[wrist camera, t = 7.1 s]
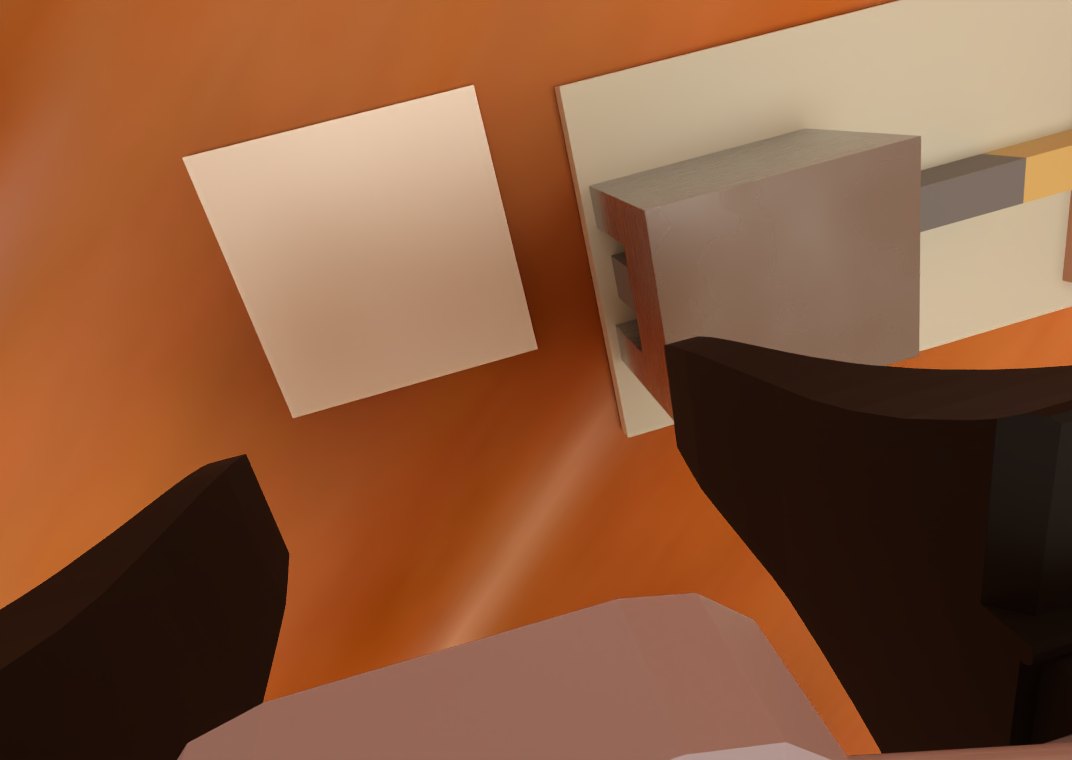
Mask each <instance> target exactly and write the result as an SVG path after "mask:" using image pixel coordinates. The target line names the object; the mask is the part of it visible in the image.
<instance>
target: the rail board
mask: <svg viewBox="0 0 1072 760" xmlns="http://www.w3.org/2000/svg"><path fill="white" fill-rule="evenodd" d="M554 88H555V93H556V98H557V104H558V109H559V114H560V119H561V124H562V129H563V134H564V139H565V144H566V149H567V154H568V159H569V164H570V169H571V174H572V179H573V184H574V189H575V194H576V199H577V204H578V209H579V214H580V219H581V224H582V229H583V235H584V240H585V245H586V250H587V255H588V260H589V265H590V270H591V275H592V280H593V285H594V290H595V295H596V300H597V305H598V310H599V315H600V320H601V325H602V330H603V335H604V340H605V345H606V350H607V355H608V360H609V366H610V371H611V376H612V381H613V386H614V391H615V396H616V401H617V406H618V411H619V416H620V421H621V426H622V430H623V431H624V433H625V434H626V436H627V437H628V438H630V437H633V436H636V435H640V434H643V433H646V432H650V431H653V430H657V429H660V428H663V427H667V426H670V425H673V424H674V421H673V419H672V418H671V417H670V416H669V415H668V414H667V412H666V411H665V410H664V409H663V408H662V407H661V405H660V404H659V403H658V402H657V401H656V400H655V398H654V397H653V396H652V395H651V394H650V393H649V391H648V390H647V389H646V388H645V387H644V385H643V384H642V383H641V382H640V381H639V380H638V378H637V377H636V376H635V375H634V374H633V373H632V371H631V370H630V369H629V368H628V367H627V366H626V364H625V363H624V362H623V361H622V358H621V353H620V347H619V342H618V337H617V331H616V326H615V325H617V324H621V323H624V322H628V321H631V320H635V319H637V317H636V311H635V306H634V300H633V294H632V288H631V283H630V277H629V271H628V266H627V260H626V254H625V248H624V245H623V244H622V243H620V242H619V241H617V240H615V239H614V238H612V237H611V236H609V235H608V234H606V233H605V232H603V231H601V230H600V229H598V228H597V226H596V220H595V215H594V210H593V205H592V199H591V194H590V189H589V186H590V185H594V184H597V183H601V182H605V181H609V180H613V179H616V178H620V177H624V176H628V175H631V174H635V173H639V172H643V171H646V170H650V169H654V168H658V167H662V166H665V165H669V164H673V163H677V162H680V161H684V160H688V159H692V158H695V157H699V156H703V155H707V154H711V153H714V152H718V151H722V150H726V149H729V148H733V147H737V146H741V145H744V144H748V143H752V142H756V141H760V140H763V139H767V138H771V137H775V136H778V135H782V134H786V133H790V132H794V131H797V130H801V129H805V128H807V129H822V130H838V131H854V132H869V133H885V134H900V135H916V136H921V215H920V326H919V351H923V350H926V349H929V348H933V347H936V346H939V345H943V344H946V343H950V342H953V341H956V340H960V339H963V338H966V337H970V336H973V335H977V334H980V333H983V332H987V331H990V330H993V329H997V328H1000V327H1003V326H1007V325H1010V324H1014V323H1017V322H1020V321H1024V320H1027V319H1030V318H1034V317H1037V316H1041V315H1044V314H1047V313H1051V312H1054V311H1057V310H1061V309H1064V308H1067V307H1071V306H1072V0H897V1H893V2H889V3H885V4H881V5H877V6H873V7H869V8H865V9H861V10H857V11H853V12H849V13H846V14H842V15H838V16H834V17H830V18H826V19H822V20H818V21H814V22H810V23H806V24H802V25H798V26H794V27H790V28H786V29H782V30H778V31H774V32H770V33H766V34H762V35H758V36H755V37H751V38H747V39H743V40H739V41H735V42H731V43H727V44H723V45H719V46H715V47H711V48H707V49H703V50H699V51H695V52H691V53H687V54H683V55H679V56H675V57H671V58H667V59H664V60H660V61H656V62H652V63H648V64H644V65H640V66H636V67H632V68H628V69H624V70H620V71H616V72H612V73H608V74H604V75H600V76H596V77H592V78H588V79H584V80H580V81H576V82H573V83H569V84H565V85H561V86H557V87H554Z"/></svg>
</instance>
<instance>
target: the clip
mask: <svg viewBox="0 0 1072 760" xmlns="http://www.w3.org/2000/svg"><path fill="white" fill-rule="evenodd" d="M589 189H590V194H591V199H592V205H593V210H594V215H595V220H596V226H597V228H598V229H600V230H601V231H603V232H605V233H606V234H608V235H609V236H611V237H612V238H614V239H615V240H617V241H619V242H620V243H622V244H623V245H624V248H625V254H626V260H627V266H628V271H629V277H630V283H631V288H632V294H633V300H634V306H635V311H636V317H637V319H635V320H631V321H628V322H624V323H621V324H617V325H615V326H616V331H617V337H618V342H619V347H620V353H621V358H622V361H623V362H624V363H625V364H626V366H627V367H628V368H629V369H630V370H631V371H632V373H633V374H634V375H635V376H636V377H637V378H638V380H639V381H640V382H641V383H642V384H643V385H644V387H645V388H646V389H647V390H648V391H649V393H650V394H651V395H652V396H653V397H654V398H655V400H656V401H657V402H658V403H659V404H660V405H661V407H662V408H663V409H664V410H665V411H666V412H667V414H668V415H669V416H670V417H671V418H672V419H673V411H672V403H671V396H670V388H669V380H668V373H667V365H666V358H665V350H664V345H666V344H670V343H674V342H678V341H682V340H685V339H689V338H693V337H697V336H704V337H714V338H720V339H726V340H731V341H736V342H741V343H746V344H751V345H756V346H760V347H765V348H770V349H775V350H779V351H784V352H789V353H795V354H800V355H805V356H811V357H817V358H823V359H830V360H836V361H843V362H849V363H857V364H866V365H876V366H885V365H889V364H892V363H895V362H899V361H902V360H906V359H909V358H912V357H916V356H919V326H920V215H921V136H916V135H900V134H885V133H869V132H854V131H838V130H822V129H807V128H805V129H801V130H797V131H794V132H790V133H786V134H782V135H778V136H775V137H771V138H767V139H763V140H760V141H756V142H752V143H748V144H744V145H741V146H737V147H733V148H729V149H726V150H722V151H718V152H714V153H711V154H707V155H703V156H699V157H695V158H692V159H688V160H684V161H680V162H677V163H673V164H669V165H665V166H662V167H658V168H654V169H650V170H646V171H643V172H639V173H635V174H631V175H628V176H624V177H620V178H616V179H613V180H609V181H605V182H601V183H597V184H594V185H590V186H589ZM673 421H674V419H673Z"/></svg>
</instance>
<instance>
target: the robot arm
mask: <svg viewBox="0 0 1072 760" xmlns="http://www.w3.org/2000/svg"><path fill="white" fill-rule="evenodd" d="M664 350H665V358H666V365H667V373H668V380H669V388H670V396H671V403H672V411H673V419H674V426H675V434H676V441H677V447H678V449H679V451H680V453H681V455H682V456H683V458H684V460H685V462H686V464H687V465H688V467H689V469H690V471H691V472H692V474H693V476H694V477H695V479H696V481H697V482H698V484H699V486H700V487H701V489H702V490H703V491H704V493H705V494H706V495H707V497H708V498H709V499H710V500H711V502H712V503H713V504H714V505H715V507H716V508H717V509H718V510H719V512H720V513H721V514H722V515H723V517H724V518H725V519H726V520H727V522H728V523H729V524H730V525H731V527H732V528H733V529H734V530H735V532H736V533H737V534H738V535H739V536H740V538H741V539H742V540H743V541H744V543H745V544H746V545H747V546H748V548H749V549H750V550H751V551H752V552H753V554H754V555H755V556H756V557H757V559H758V560H759V561H760V562H761V563H762V565H763V566H764V567H765V568H766V570H767V571H768V572H769V573H770V575H771V576H772V577H773V578H774V580H775V581H776V582H777V584H778V585H779V587H780V588H781V589H782V591H783V592H784V593H785V595H786V596H787V597H788V599H789V600H790V602H791V604H792V605H793V607H794V608H795V610H796V611H797V613H798V614H799V616H800V618H801V619H802V621H803V622H804V624H805V625H806V627H807V629H808V630H809V632H810V633H811V635H812V636H813V638H814V640H815V641H816V643H817V644H818V646H819V647H820V649H821V651H822V652H823V654H824V656H825V657H826V659H827V661H828V662H829V664H830V666H831V667H832V669H833V671H834V672H835V674H836V675H837V677H838V679H839V680H840V682H841V684H842V685H843V687H844V689H845V690H846V692H847V694H848V695H849V697H850V699H851V700H852V702H853V704H854V705H855V707H856V709H857V711H858V712H859V714H860V716H861V718H862V719H863V721H864V723H865V725H866V726H867V728H868V730H869V732H870V733H871V735H872V737H873V739H874V740H875V742H876V744H877V746H878V747H879V749H880V751H881V753H882V754H868V755H852V756H847V755H846V754H845V752H844V751H843V749H842V748H841V747H840V745H839V744H838V742H837V741H836V739H835V738H834V736H833V735H832V733H831V732H830V730H829V729H828V727H827V726H826V724H825V723H824V722H823V720H822V719H821V717H820V716H819V714H818V713H817V711H816V710H815V708H814V707H813V705H812V704H811V702H810V701H809V699H808V698H807V697H806V695H805V694H804V692H803V691H802V689H801V688H800V686H799V685H798V683H797V682H796V680H795V679H794V677H793V676H792V675H791V673H790V672H789V670H788V669H787V667H786V666H785V664H784V663H783V661H782V660H781V658H780V657H779V655H778V654H777V652H776V651H775V650H774V648H773V647H772V645H771V644H770V642H769V641H768V639H767V638H766V636H765V635H764V633H763V632H762V630H761V629H760V628H759V626H758V625H757V623H756V622H755V620H754V619H751V618H749V617H747V616H745V615H743V614H741V613H739V612H736V611H734V610H732V609H730V608H728V607H726V606H724V605H721V604H719V603H717V602H715V601H713V600H711V599H709V598H706V597H704V596H702V595H700V594H698V593H686V594H673V595H660V596H647V597H633V598H620V599H615V600H612V601H608V602H605V603H601V604H598V605H594V606H591V607H588V608H584V609H581V610H577V611H574V612H571V613H567V614H564V615H560V616H557V617H554V618H550V619H547V620H543V621H540V622H536V623H533V624H530V625H526V626H523V627H519V628H516V629H513V630H509V631H506V632H502V633H499V634H496V635H492V636H489V637H485V638H482V639H479V640H475V641H472V642H468V643H465V644H461V645H458V646H455V647H451V648H448V649H444V650H441V651H438V652H434V653H431V654H427V655H424V656H421V657H417V658H414V659H410V660H407V661H404V662H400V663H397V664H393V665H390V666H386V667H383V668H380V669H376V670H373V671H369V672H366V673H363V674H359V675H356V676H352V677H349V678H346V679H342V680H339V681H335V682H332V683H328V684H325V685H322V686H318V687H315V688H311V689H308V690H305V691H301V692H298V693H294V694H291V695H288V696H284V697H281V698H277V699H274V700H271V701H267V702H264V703H263V700H264V695H265V691H266V687H267V683H268V679H269V675H270V671H271V666H272V662H273V658H274V654H275V650H276V646H277V641H278V637H279V632H280V628H281V624H282V619H283V615H284V610H285V605H286V594H287V583H288V566H289V552H288V550H287V547H286V545H285V543H284V541H283V538H282V536H281V534H280V531H279V529H278V527H277V524H276V522H275V520H274V518H273V515H272V513H271V511H270V508H269V506H268V504H267V501H266V499H265V497H264V495H263V492H262V490H261V488H260V485H259V483H258V481H257V478H256V476H255V474H254V472H253V469H252V467H251V465H250V462H249V460H248V458H247V455H246V454H244V455H240V456H236V457H233V458H229V459H225V460H221V461H217V462H213V463H210V464H207V465H205V466H203V467H201V468H199V469H198V470H196V471H195V472H193V473H191V474H190V475H189V476H187V477H186V478H184V479H183V480H181V481H180V482H179V483H177V484H176V485H174V486H173V487H172V488H170V489H169V490H168V491H166V492H165V493H164V494H163V495H161V496H160V497H159V498H157V499H156V500H155V501H153V502H152V503H151V504H150V505H148V506H147V507H146V508H144V509H143V510H142V511H140V512H139V513H138V514H137V515H135V516H134V517H133V518H131V519H130V520H129V521H127V522H126V523H125V524H124V525H122V526H121V527H120V528H118V529H117V530H116V531H114V532H113V533H112V534H110V535H109V536H108V537H106V538H105V539H103V540H102V541H101V542H99V543H98V544H97V545H95V546H94V547H92V548H91V549H90V550H88V551H87V552H86V553H84V554H83V555H81V556H80V557H79V558H77V559H76V560H74V561H73V562H72V563H70V564H69V565H68V566H66V567H65V568H63V569H62V570H61V571H59V572H58V573H56V574H55V575H53V576H52V577H51V578H49V579H48V580H46V581H45V582H43V583H42V584H40V585H39V586H37V587H36V588H34V589H32V590H31V591H29V592H28V593H26V594H25V595H23V596H22V597H20V598H18V599H17V600H15V601H14V602H12V603H10V604H9V605H7V606H5V607H4V608H2V609H1V610H0V760H1072V366H1058V367H1043V368H1027V369H999V370H940V369H915V368H902V367H889V366H876V365H866V364H857V363H849V362H843V361H836V360H830V359H823V358H817V357H811V356H805V355H800V354H795V353H789V352H784V351H779V350H775V349H770V348H765V347H760V346H756V345H751V344H746V343H741V342H736V341H731V340H726V339H720V338H714V337H704V336H697V337H693V338H689V339H685V340H682V341H678V342H674V343H670V344H666V345H664Z"/></svg>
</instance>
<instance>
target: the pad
mask: <svg viewBox="0 0 1072 760" xmlns="http://www.w3.org/2000/svg"><path fill="white" fill-rule="evenodd" d="M182 159H183V161H184V163H185V166H186V168H187V170H188V173H189V175H190V177H191V180H192V182H193V185H194V187H195V189H196V192H197V194H198V196H199V199H200V201H201V203H202V206H203V208H204V210H205V213H206V215H207V217H208V220H209V222H210V225H211V227H212V229H213V232H214V234H215V236H216V239H217V241H218V243H219V246H220V248H221V250H222V253H223V255H224V257H225V260H226V262H227V264H228V267H229V269H230V272H231V274H232V276H233V279H234V281H235V283H236V286H237V288H238V290H239V293H240V295H241V297H242V300H243V302H244V304H245V307H246V309H247V311H248V314H249V316H250V319H251V321H252V323H253V326H254V328H255V330H256V333H257V335H258V337H259V340H260V342H261V344H262V347H263V349H264V351H265V354H266V356H267V359H268V361H269V363H270V366H271V368H272V370H273V373H274V375H275V377H276V380H277V382H278V384H279V387H280V389H281V391H282V394H283V396H284V398H285V401H286V403H287V406H288V408H289V410H290V413H291V415H292V417H293V418H296V417H299V416H303V415H306V414H310V413H314V412H317V411H321V410H324V409H328V408H331V407H335V406H338V405H342V404H345V403H349V402H352V401H356V400H359V399H363V398H366V397H370V396H374V395H377V394H381V393H384V392H388V391H391V390H395V389H398V388H402V387H405V386H409V385H412V384H416V383H419V382H423V381H426V380H430V379H434V378H437V377H441V376H444V375H448V374H451V373H455V372H458V371H462V370H465V369H469V368H472V367H476V366H479V365H483V364H487V363H490V362H494V361H497V360H501V359H504V358H508V357H511V356H515V355H518V354H522V353H525V352H529V351H532V350H536V349H538V347H537V343H536V339H535V335H534V331H533V327H532V323H531V319H530V315H529V310H528V306H527V302H526V298H525V294H524V290H523V286H522V282H521V278H520V274H519V269H518V265H517V261H516V257H515V253H514V249H513V245H512V241H511V237H510V232H509V228H508V224H507V220H506V216H505V212H504V208H503V204H502V200H501V196H500V191H499V187H498V183H497V179H496V175H495V171H494V167H493V163H492V159H491V155H490V150H489V146H488V142H487V138H486V134H485V130H484V126H483V122H482V118H481V114H480V109H479V105H478V101H477V97H476V93H475V89H474V85H471V86H467V87H463V88H459V89H455V90H451V91H447V92H443V93H439V94H435V95H431V96H427V97H423V98H419V99H415V100H411V101H407V102H403V103H399V104H395V105H391V106H387V107H383V108H379V109H375V110H371V111H367V112H363V113H359V114H355V115H351V116H347V117H343V118H339V119H335V120H331V121H327V122H323V123H319V124H315V125H311V126H307V127H303V128H299V129H295V130H291V131H287V132H283V133H279V134H275V135H271V136H267V137H263V138H259V139H255V140H251V141H247V142H243V143H239V144H235V145H231V146H227V147H223V148H219V149H215V150H211V151H207V152H203V153H199V154H195V155H191V156H187V157H183V158H182Z"/></svg>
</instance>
